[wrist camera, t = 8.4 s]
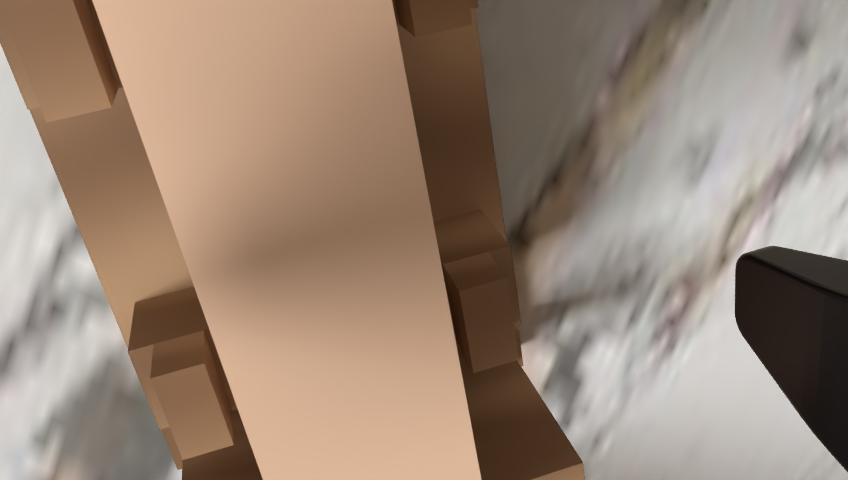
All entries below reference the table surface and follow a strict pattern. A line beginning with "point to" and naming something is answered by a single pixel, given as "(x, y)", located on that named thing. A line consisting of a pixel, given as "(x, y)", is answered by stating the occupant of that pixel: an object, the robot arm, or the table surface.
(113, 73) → the rack
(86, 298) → the table surface
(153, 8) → the tan rectangular block
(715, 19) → the table surface
